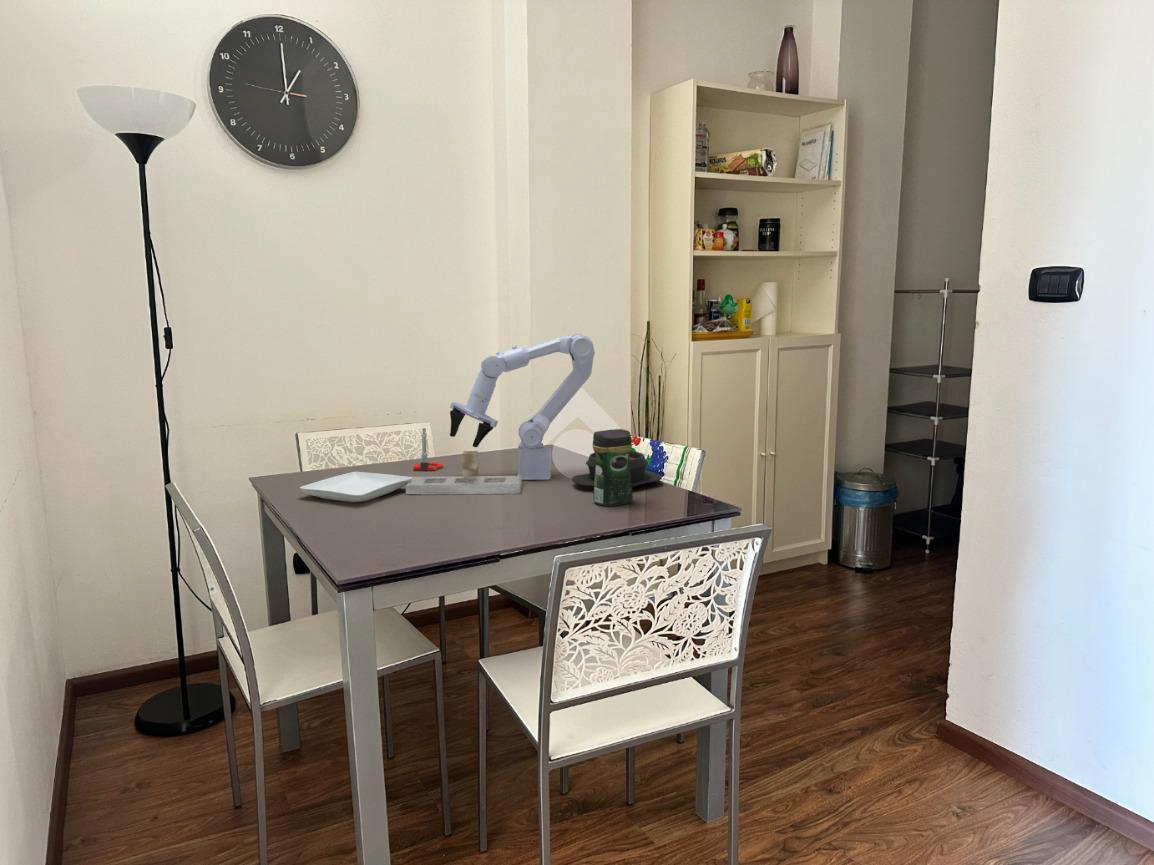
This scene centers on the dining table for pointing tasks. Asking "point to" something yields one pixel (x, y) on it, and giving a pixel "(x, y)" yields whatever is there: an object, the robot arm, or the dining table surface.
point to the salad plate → (356, 486)
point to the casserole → (636, 471)
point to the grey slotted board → (465, 485)
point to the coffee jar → (612, 467)
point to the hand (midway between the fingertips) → (463, 441)
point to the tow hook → (424, 464)
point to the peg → (470, 463)
